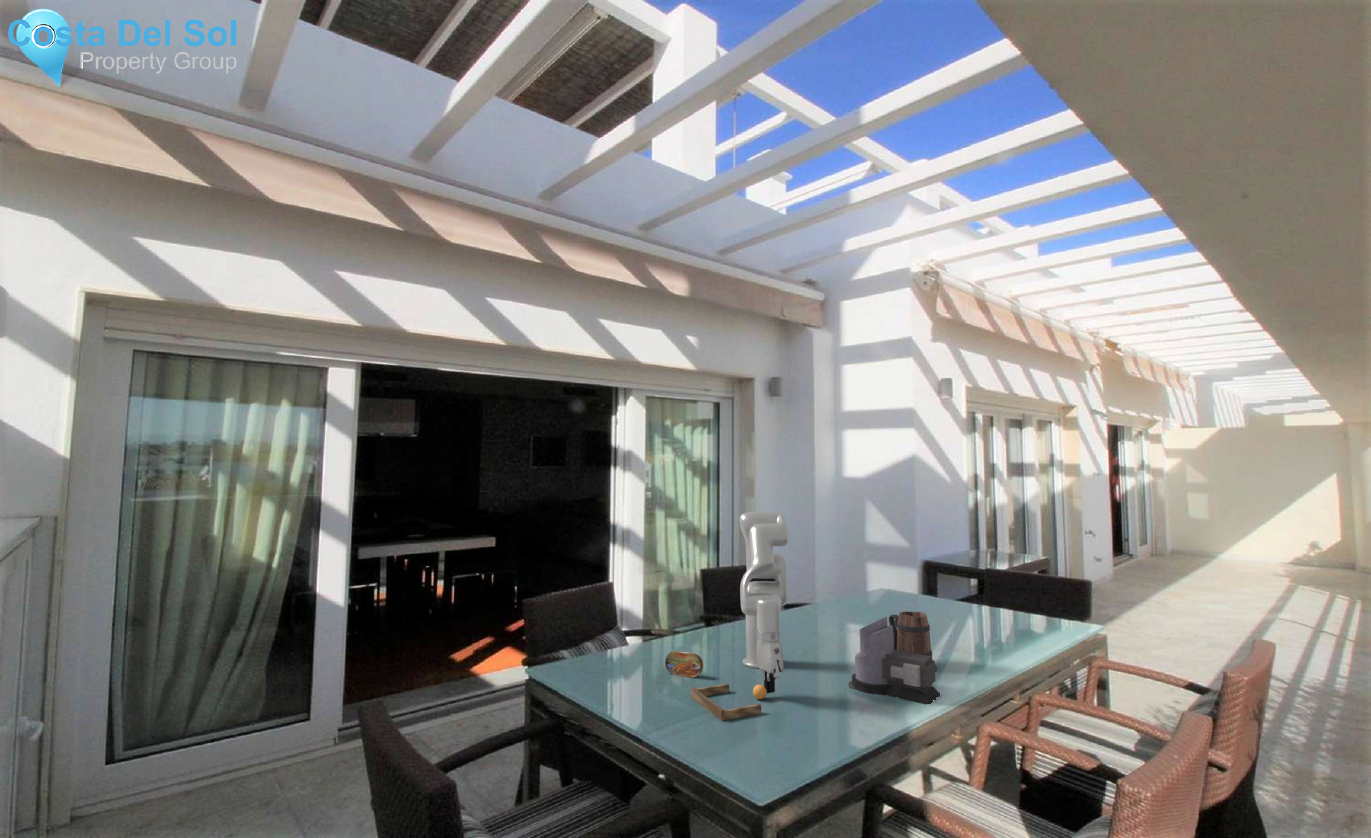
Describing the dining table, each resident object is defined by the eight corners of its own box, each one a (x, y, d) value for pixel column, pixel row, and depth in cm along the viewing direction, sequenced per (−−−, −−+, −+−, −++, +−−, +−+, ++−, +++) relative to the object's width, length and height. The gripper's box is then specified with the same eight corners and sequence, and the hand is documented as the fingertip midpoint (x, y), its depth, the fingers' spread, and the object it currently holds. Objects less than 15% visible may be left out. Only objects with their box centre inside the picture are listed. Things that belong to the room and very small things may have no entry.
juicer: (840, 687, 216) (838, 615, 218) (860, 675, 228) (857, 608, 231) (927, 707, 197) (924, 628, 199) (944, 693, 209) (940, 619, 211)
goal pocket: (727, 691, 213) (727, 682, 213) (761, 713, 193) (761, 703, 193) (691, 697, 207) (690, 688, 208) (721, 720, 187) (721, 710, 188)
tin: (664, 673, 232) (664, 650, 233) (668, 671, 235) (668, 648, 236) (700, 679, 225) (700, 655, 226) (704, 677, 228) (704, 653, 229)
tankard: (948, 669, 234) (946, 615, 236) (914, 676, 227) (912, 620, 229) (902, 653, 255) (900, 604, 257) (870, 659, 248) (868, 608, 250)
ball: (764, 687, 209) (755, 680, 208) (771, 691, 205) (762, 684, 204) (756, 699, 208) (748, 692, 206) (764, 704, 204) (755, 697, 202)
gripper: (790, 639, 204) (791, 697, 202) (765, 629, 217) (766, 683, 215) (771, 642, 201) (772, 701, 199) (747, 632, 214) (748, 687, 212)
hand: (769, 692), depth 207 cm, fingers closed
